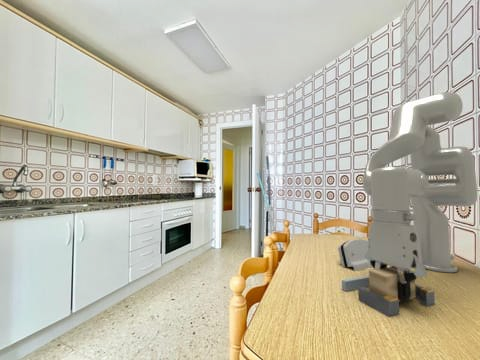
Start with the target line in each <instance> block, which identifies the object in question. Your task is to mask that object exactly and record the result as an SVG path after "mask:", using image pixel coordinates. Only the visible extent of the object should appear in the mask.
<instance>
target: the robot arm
mask: <svg viewBox="0 0 480 360" xmlns="http://www.w3.org/2000/svg"><path fill="white" fill-rule="evenodd" d="M463 107H464V105H463V101H462V98H461V96H460V95H459V94H457V93H456V92H450V91H449V92H441V93H436V94H433V95H429V96H425V97H420V98H417V99H415V100H414V99H413V100H411V101H408V102H405V103H403V104H400V105H399V106H398V107H396V109H395V110H394V112H393V115H392V120H391V126H390V130H389V131H390V132H389V135H388V140H387V141H386V142H385V143H383V144H382V145H381V146H379V148H378V149H376V151H374V152H373V153H372V154H371V156H370V157H369V158H368V160H367V162H366V165H365V168H364V173H363V177H362V178H363V179H362V186H363V187H362V189H363V190H364V192H365V194H367V195H368V196H370V197H371V209H372V211H371V213H372V214H371V215H372V221H370V223H369V226H368V227H369V228H368V236H367V241H368V251H367V253H366V254H365V258H366V259H367V260H368V261H369V262H370V264H371V265H372V267H371V268H373V270H375V269H382V268H388V267H391V266H392V267H396V268H397V270H398V275H399V280H400V282H398V299H399V300H400V302H403V301H407V300H411V299H410V296H411V288H410V282H413V281H414V280H415V281H416V280H417V279H419V278H424V277H426V276H428V275H429V273H428V271H427V270H430V271H433V272H440V273H456V272H458V267H457V266H456V265H454V264H452V261H453V260H455V259H456V257H455V256H454V255H453V254H451V246H450V245H451V244H450V242H451V241H450V240H451V239H450V227H449V225H450V223H449V218H448V216H447V215H446V214H445V212H443V211H442V210H441V209H440V208H439V207H440V206H441V207H443V206H444V207H446V206H447V207H471V206H474V205H475V204H476V203H477V201H478V187H477V175H476V165H475V164H476V163H475V158H474V155H473V152H472V150H471V149H470V148H468V147H467V146H451V147H442V146H441V137H440V133H438V131H436V130H435V129H434V128H432V127H431V126H432V125H436V124H442V123H447V122H451V121H452V122H453V121H456V120H457V119H458V118H460V117H461V115H462V113H463ZM409 155H410V157H409V158H410V163H411V164H410V165H411V168H404V167H401V166H387V165H389V164H392V163H393V162H396V161H397V160H400V159H403V158H405V157H407V156H409ZM432 176H433V177H435V176H454V177H455V178H435V179H433V178H431V179H429V178H428V177H432ZM410 203H411V207H412V209H411V207H410ZM438 206H439V207H438ZM411 210H412V211H411ZM412 221H413V224H411V223H412ZM412 269H414V272H412V273H411V271H412Z"/></svg>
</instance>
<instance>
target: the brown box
mask: <svg viewBox="0 0 480 360" xmlns="http://www.w3.org/2000/svg"><path fill="white" fill-rule="evenodd" d="M412 272H415V270H411V273H412ZM368 275H369V287H368V288H369V290H371V291H373V292H375V293H377V294H379V295H381V296H389V295H393V296H395V297H397V298H398V282H400V280H399V275H398V270H397V268H396V267H392V266H387V268H382V269H370V270H368ZM415 284H416V279H415V280H414V281H413V282H410V288H411V296H410V299H409V300H411V299H415V298H416V294H415ZM400 302H401V301H400V300H399V303H400Z"/></svg>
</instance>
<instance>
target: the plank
mask: <svg viewBox="0 0 480 360" xmlns="http://www.w3.org/2000/svg"><path fill="white" fill-rule="evenodd" d="M358 287H364V288H366V289H368V288H369V274H368V275H364V276H356V277H351V278H345V279H341V290H342V291H344V292H350V291H355V290H358Z"/></svg>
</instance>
